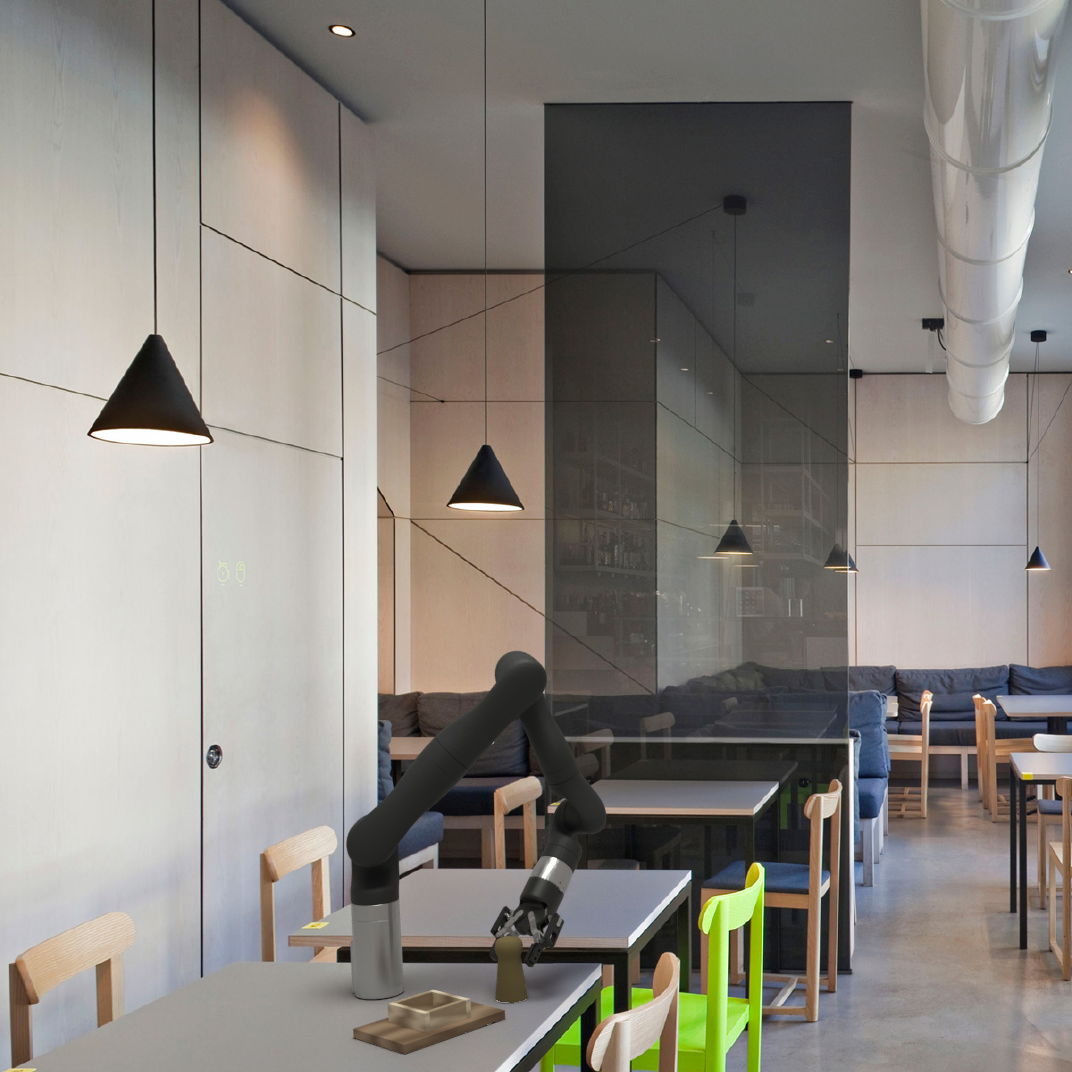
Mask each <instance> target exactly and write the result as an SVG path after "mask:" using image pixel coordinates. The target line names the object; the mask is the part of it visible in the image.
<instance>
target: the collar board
mask: <svg viewBox="0 0 1072 1072" xmlns="http://www.w3.org/2000/svg"><path fill="white" fill-rule="evenodd" d="M387 1010H388V1011H387V1012H388V1017H385V1018H382V1019H379V1020H375V1021H372V1022H370V1023H366V1024H364V1025H360V1026H357V1027H354V1028H353V1029H352V1030H353V1032H352V1034H353V1039H355V1038H356V1039H355V1040H359V1039H360V1040H359V1041H362V1040H363V1041H362V1042H365V1041H366V1042H365V1043H369V1044H372V1045H375V1046H378V1047H381V1048H384V1047H385V1049H387V1048H388V1049H387V1050H390V1051H393V1052H397V1053H400V1054H403V1055H407V1054H410V1053H414V1052H416V1051H418V1050H421V1048H422V1049H424V1047H425V1048H427V1047H430V1046H433V1045H436V1044H439V1043H441V1042H445V1041H446V1040H450V1039H453V1038H456V1037H458V1036H461V1035H464V1034H466V1033H465V1032H467V1033H469V1032H468V1031H470V1032H472V1031H473V1032H474V1031H475V1029H476V1030H478V1029H481V1028H483V1027H482V1026H484V1027H486V1026H485V1025H487V1024H490V1023H492V1022H495V1023H498V1022H500V1021H504V1020H506V1010H505V1009H502V1008H498V1007H495V1006H490V1005H485V1004H481V1003H478V1002H474V1001H471V998H469V997H463V996H461V995H456V994H451V993H450V992H449V993H448V992H445V991H440V990H436V989H431V990H430V989H429V990H427V991H424V992H420V993H417V994H415V995H411V996H409V997H405V998H402V999H399V1000H395V1001H392V1002H389V1003H387ZM503 1019H504V1020H503ZM490 1025H491V1024H490ZM487 1026H488V1025H487ZM480 1027H481V1028H480ZM463 1033H464V1034H463ZM415 1050H416V1051H415Z"/></svg>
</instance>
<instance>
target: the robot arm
mask: <svg viewBox="0 0 1072 1072" xmlns="http://www.w3.org/2000/svg"><path fill="white" fill-rule="evenodd" d="M494 680H495V683H494V685H493V686H492V688H490V690H489V691H488V692H487V693H486V694H485V696H484V697H483V698H482V700H480V701H479V702H478V703H477V705H475V706H473V708H472V709H470V710H469V711H467V712H466V713H464V714H463V715H461V716H459V717H457V718H456V719H455V720H453V721H452V722H450V723H449V724H447V725H446V726H445V727H444V728H443V729H441V730H440V731H439V732H438V733H437V734H436V735H435V736H434V737H433V738H432V739H431V741H429V743H427V744H426V746H424V747H423V749H422V750H421V752H420V753H419V754H418V755H417V757H416V758H414V760H413V761H412V763H411V764H410V765H409V767H407V769H406V771H404V774H403V775H402V776H401V778H400V779H399V781H398V782H397V783H396V784H395V786H394V787H393V789H392V790H391V791H390V792H389V793H388V795H387V796H385V798H384V799H383V800H382V801H380V802H379V804H378V805H377V806H375V807H374V808H373V809H372V810H371V811H370V812H368V813H367V814H365V815H363V816H362V817H360V818H359V819H358V820H357V821H355V823H354V824H353V825H352V826H351V827H350V829H349V831H348V833H347V836H346V842H345V846H346V852H347V855H348V857H349V859H350V862H351V863H350V864H351V879H350V880H351V881H350V892H349V893H350V911H351V931H352V932H351V933H352V935H351V936H352V940H351V941H350V943H349V947H350V965H351V966H350V967H351V969H350V970H351V988H352V990H351V991H352V993H354V995H355V997H357V998H358V999H359V998H360V999H363V1000H379V999H380V1000H381V999H386V998H387V999H389V998H392V997H395V996H398V995H400V994H401V993H403V992H404V990H405V989H404V970H403V969H404V967H403V966H404V965H403V963H404V962H403V947H402V944H403V943H402V942H403V941H402V929H401V928H402V925H401V906H400V905H401V904H400V852H399V844H400V842H401V841H402V840H403V838H404V837H405V836H406V835H407V833H408V832H409V831H410V829H411V828H412V827H413V826H414V824H416V823H417V821H418V820H419V819H420V818H421V817H422V816H423V815H425V813H427V812H428V811H429V810H430V809H431V808H432V807H434V806H435V805H436V804H437V803H438V802H440V800H441V799H443V798H444V797H445V796H446V795H447V794H448V793H449V792H450V791H451V790H452V789H453V788H454V787H455V786H456V785H457V784H458V783H459V782H460V781H461V780H462V779H463V777H465V775H466V774H467V773H469V771H470V770H471V769H472V768H473V766H475V764H476V763H477V761H478V760H479V759H481V757H482V756H483V755H484V754H485V753H486V751H488V750H489V748H490V747H491V746H492V745H493V743H495V741H496V740H497V739H498V737H499V736H500V735H501V734H502V733H503V732H504V730H506V728H508V726H509V725H511V724H512V723H513V722H514V721H515V720H517V718H518V719H519V721H520V723H521V726H522V727H523V729H524V731H525V734H526V736H527V737H528V741H529V744H530V745H531V748H532V750H533V753H534V755H535V758H536V761H537V763H538V765H539V767H540V768H539V769H540V771H541V773H542V775H543V777H544V779H545V781H546V784H547V786H548V788H549V790H550V792H551V793H552V794H553V795H555V796H557V797H561V798H563V800H562V801H561V802H560V803H559V804H558V805H557V806H556V808H555V810H554V812H553V815H552V816H553V817H552V820H551V821H552V822H551V827H550V830H549V836H548V837H549V838H548V842H547V844H546V846H545V848H544V850H543V851H542V854H541V856H540V858H539V859H538V861H537V862H536V864H535V865H534V867H533V869H532V871H531V873H530V875H529V876H528V879H527V881H526V883H525V885H524V887H523V890H522V891H521V893H520V895H519V903H518V906H517V907H516V908H515V909H510V908H509V907H508V906H507V905H505V906H503V907H502V908H501V911H500V912H499V914H498V916H497V918H496V920H495V921H494V923H493V926H492V927H491V929H490V933H491V935H493V937H494V938H495V939H494V942H493V944H492V945H491V948H490V950H489V957H490V958H491V960H492V961H493V962H498V956H497V954H496V952H495V943H496V941H497V939H499V938H501V937H505V936H516V937H518V938H519V936H529V937H533V938H532V939H533V942H532V943H531V945H530V946H529V948H528V951H527V953H526V954H525V956H524V959H523V963H524V964H525V966H527V967H529V968H533V967H534V966H535V964H537V962H538V960H539V958H540V956H541V954H542V951H544V950H546V948H549V949H553V948H555V946H556V944H557V941H558V938H559V936H560V933H561V932H562V931H561V930H562V929H563V926H564V923H565V920H564V919H563V918H562V916H561V915H560V914H559V913H558V909H559V908H560V905H561V904H562V901H563V899H564V898H565V895H566V893H567V891H568V888H569V886H570V883H571V880H572V878H573V874H574V873H575V870H576V868H577V867H578V864H579V862H580V859H581V857H582V854H583V848H582V846H581V844H580V843H579V841H578V840H577V839H575V836H576V835H594V834H598V833H601V832H602V830H603V829H605V826H606V823H607V810H606V807H605V804H604V802H603V801H602V798H601V797H600V796H599V794H598V793H597V791H596V790H595V789H594V788H593V787H592V785H591V784H590V783H589V781H588V780H587V779H586V778H585V777H584V775H583V774H582V772H581V768H580V767H579V764H578V763H577V760H576V757H575V756H574V753H573V751H572V749H571V746H570V745H569V742H568V741H567V740H566V737H565V736H564V734H563V732H562V730H561V728H560V727H559V724H558V723H557V721H556V719H555V718H554V716H553V713H552V711H551V710H550V707H549V705H548V703H547V702H548V701H546V698H545V694H544V692H545V690H546V688H547V683H548V674H547V672H546V669H545V667H544V665H543V664H541V662H539V660H537V659H536V658H535V657H534V656H533V655H531V654H530V653H528V652H525V651H521V650H511V651H509V652H506V653H505V654H503V655H501V657H500V658H499V659H498V660H497V663H496V664H495V669H494ZM509 727H510V726H509ZM512 927H514V929H513V928H512ZM546 927H547V928H546ZM545 929H546V930H545ZM507 933H508V934H507Z"/></svg>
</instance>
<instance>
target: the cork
mask: <svg viewBox="0 0 1072 1072" xmlns="http://www.w3.org/2000/svg"><path fill="white" fill-rule="evenodd" d="M504 936H505V937H501V938H499V939H497V941H496V943H495V952H496V954H497V956H498V961H497V966H496V968H497V969H496V983H495V984H496V985H495V986H496V987H495V996H494V998H495V999H496V1000H498V1001H500V1002H509V1003H511V1004H515V1003H514V1002H519V1001H523V1000H525V999H527V998H528V999H529V994H528V990H527V985H526V979H525V974H524V968H523V963H522V958H521V954H522V953H523V949H524V945H523V941H522V939H521V938H520V937H519V936H518V937H516V936H506V935H504ZM495 999H494V1000H495ZM528 999H527V1000H528ZM525 1001H526V1000H525ZM523 1002H524V1001H523ZM519 1003H520V1002H519Z"/></svg>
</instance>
